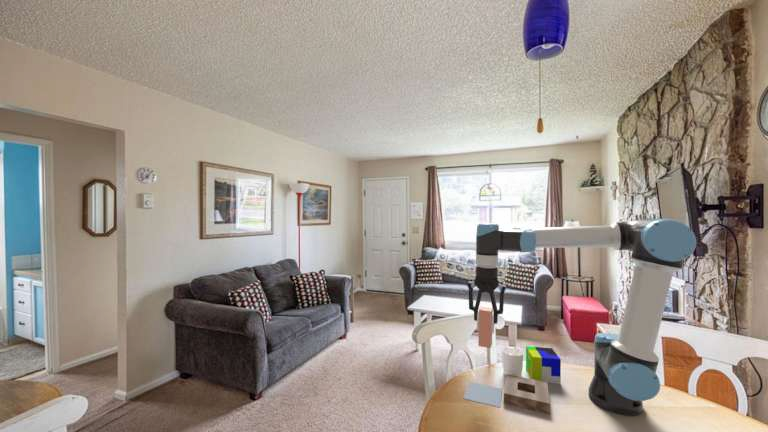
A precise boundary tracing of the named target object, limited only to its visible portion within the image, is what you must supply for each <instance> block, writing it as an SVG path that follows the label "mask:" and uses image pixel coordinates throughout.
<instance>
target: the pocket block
mask: <svg viewBox="0 0 768 432" xmlns="http://www.w3.org/2000/svg"><path fill="white" fill-rule="evenodd" d="M503 388H504V389H503V404H505V405H509V406H513V407H517V408H521V409H526V410H530V411H533V412H534V411H535V412H537V413H542V414H546V415H551V401H550V393H549V387H548V383H547V382H543V381H538V380H533V379H531V378H529V377H528V378H527V377H524V376H521V377H518V376H513V375H508V374H506V376H505V379H504V387H503Z"/></svg>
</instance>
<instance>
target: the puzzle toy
mask: <svg viewBox="0 0 768 432" xmlns="http://www.w3.org/2000/svg"><path fill="white" fill-rule="evenodd" d="M561 360H562V359H561V358H560V356H559V355H558V354H557V353H556V352H555V351H554V349H553V347H541V346H530V345H526V346H525V370H526V372H527V373H528V376H529V377H530V379H533V380H538V381H543V382H547V384H548V383H550V384H557V385H561V370H562V369H561V364H562V362H561Z"/></svg>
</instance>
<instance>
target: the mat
mask: <svg viewBox="0 0 768 432" xmlns="http://www.w3.org/2000/svg"><path fill="white" fill-rule="evenodd" d="M502 394H503V388H500V387H495V386H490V385H486V384H481V383H477V382H473V381H468V384H467V387H466V390H465V392H464V394H463V399H464V400H468V401H472V402H475V403H480V404H484V405H488V406H492V407H497V408H501V403H502Z"/></svg>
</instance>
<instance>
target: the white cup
mask: <svg viewBox="0 0 768 432" xmlns="http://www.w3.org/2000/svg"><path fill="white" fill-rule="evenodd" d="M501 352H502V354H501V355H502V369H503V372H502V373H503V375H504V376H505V377H506V374H508V375H513V376H518V377H523V376H522V375H523V374H522V373H523V364H524V363H523V362H524V352H523V350H521V349H520V348H517V347H512V346H505V347H503V348H502V349H501Z"/></svg>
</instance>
